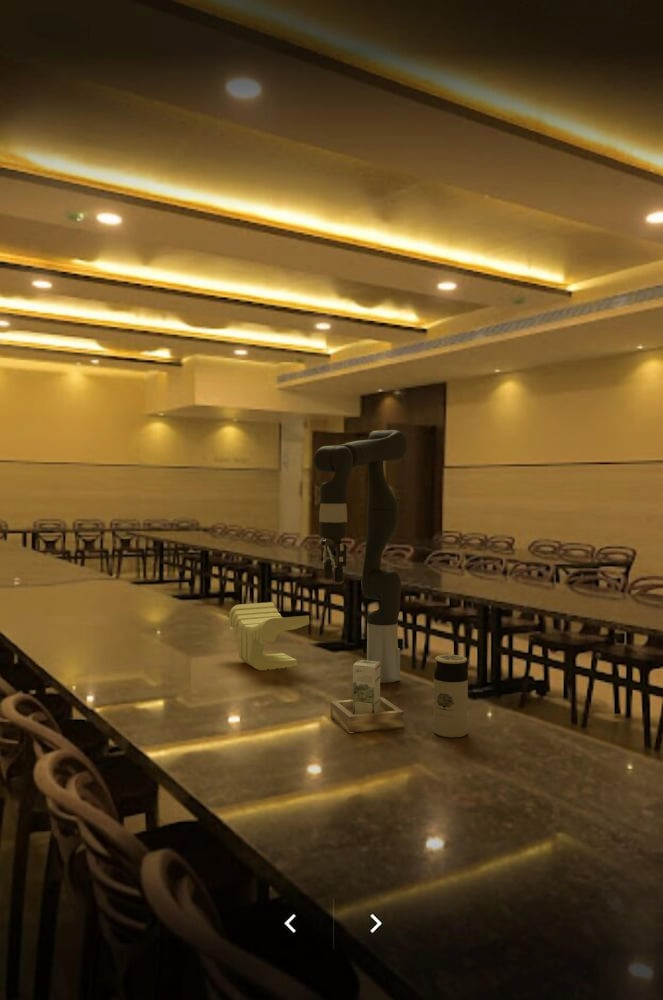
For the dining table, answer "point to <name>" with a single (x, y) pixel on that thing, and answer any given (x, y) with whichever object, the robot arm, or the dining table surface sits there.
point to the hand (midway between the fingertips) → (333, 580)
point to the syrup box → (366, 687)
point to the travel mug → (450, 696)
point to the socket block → (367, 717)
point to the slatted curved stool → (262, 633)
